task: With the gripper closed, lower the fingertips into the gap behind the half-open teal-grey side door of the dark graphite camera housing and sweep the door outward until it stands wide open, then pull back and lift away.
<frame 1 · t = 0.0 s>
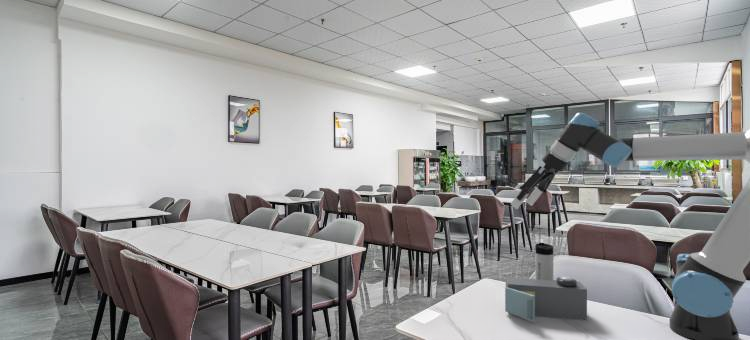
hand: (521, 205, 129), 36 cm above the table, tool tilted 35°, fingers open, 13 cm apart
camera housing: (544, 312, 123), on the table
travel mug: (544, 297, 137), on the table
side door: (518, 304, 117), point 5 cm above the table, hinge at 40.0°
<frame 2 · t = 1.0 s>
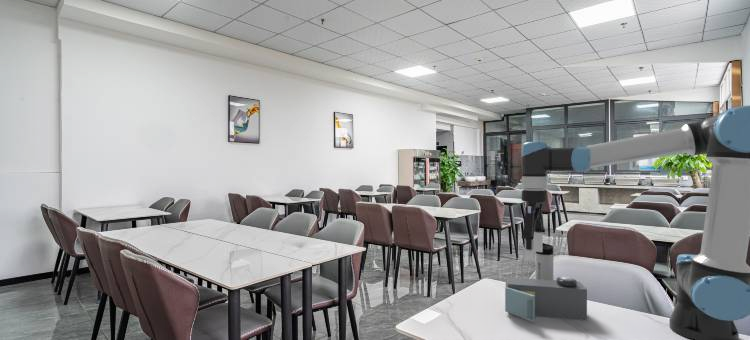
hand: (533, 255, 117), 21 cm above the table, tool pointing down, fingers open, 12 cm apart
nothing on the table moved.
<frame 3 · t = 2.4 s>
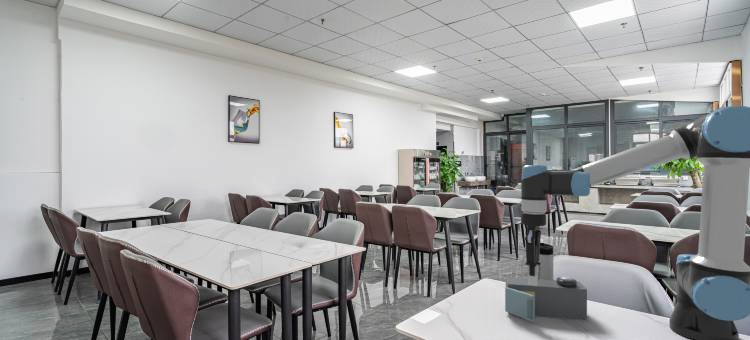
hand: (532, 284, 117), 11 cm above the table, tool pointing down, fingers closed
nothing on the table moved.
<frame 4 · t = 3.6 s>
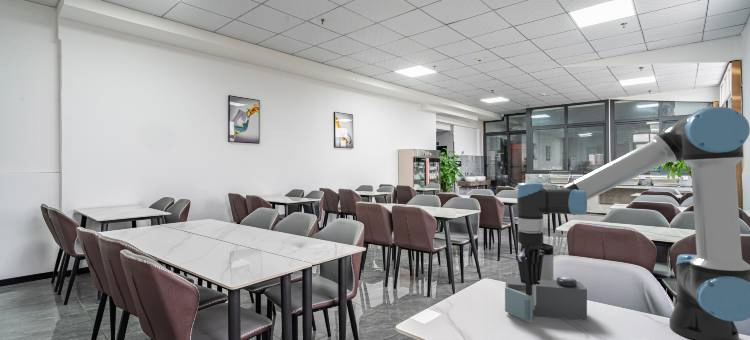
hand: (531, 304, 115), 6 cm above the table, tool pointing down, fingers closed
side door: (517, 304, 117), point 5 cm above the table, hinge at 46.4°, touching gripper
everything else where it was.
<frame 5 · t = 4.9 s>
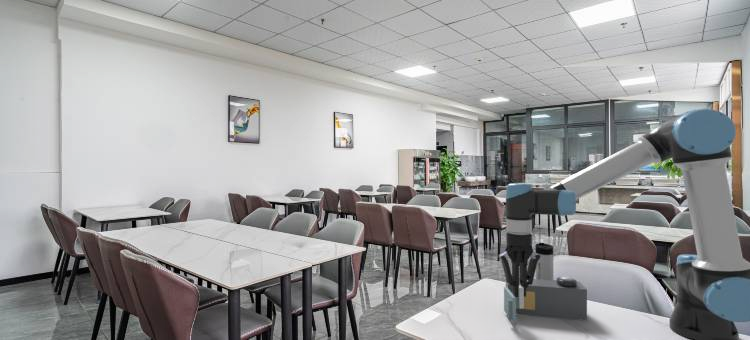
hand: (519, 306, 114), 6 cm above the table, tool pointing down, fingers closed
side door: (508, 304, 117), point 5 cm above the table, hinge at 80.5°, touching gripper
everything else where it was.
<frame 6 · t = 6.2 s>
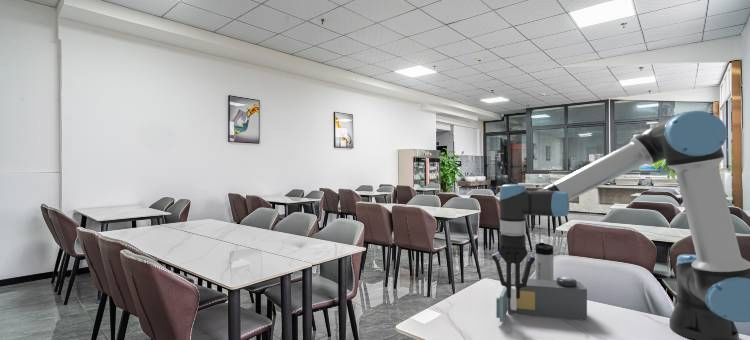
hand: (513, 308, 113), 5 cm above the table, tool pointing down, fingers closed
side door: (501, 303, 118), point 5 cm above the table, hinge at 102.4°
everything else where it was.
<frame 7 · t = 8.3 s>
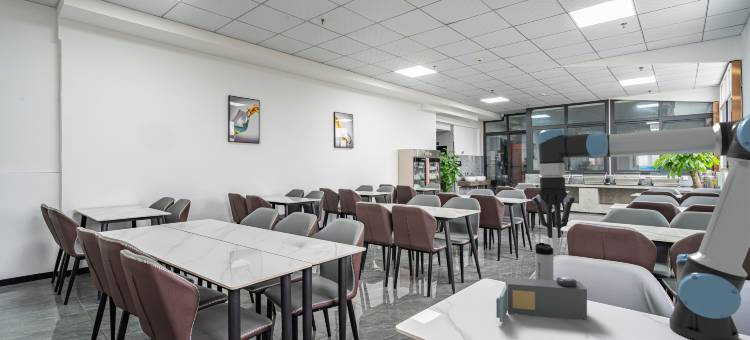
hand: (554, 247, 119), 23 cm above the table, tool pointing down, fingers closed
nothing on the table moved.
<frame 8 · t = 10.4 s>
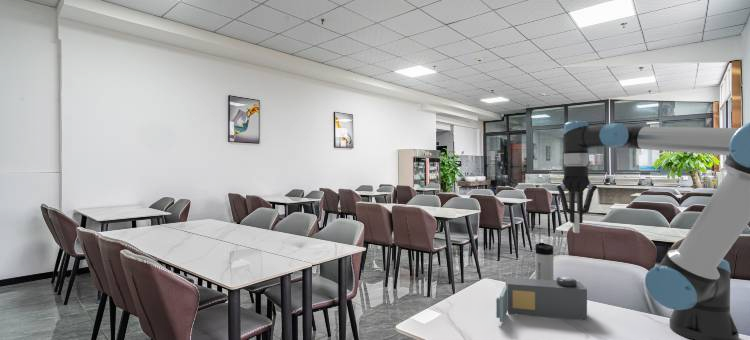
hand: (576, 232, 127), 26 cm above the table, tool pointing down, fingers closed
nothing on the table moved.
at the end: side door at +102° (first picture: +40°) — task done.
